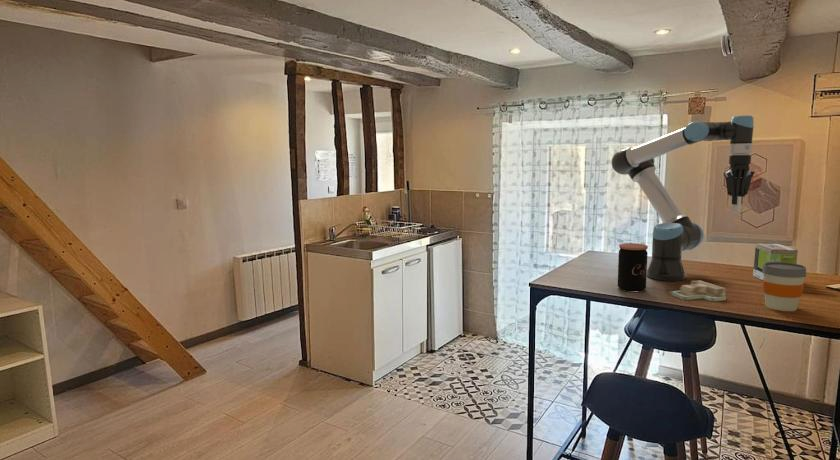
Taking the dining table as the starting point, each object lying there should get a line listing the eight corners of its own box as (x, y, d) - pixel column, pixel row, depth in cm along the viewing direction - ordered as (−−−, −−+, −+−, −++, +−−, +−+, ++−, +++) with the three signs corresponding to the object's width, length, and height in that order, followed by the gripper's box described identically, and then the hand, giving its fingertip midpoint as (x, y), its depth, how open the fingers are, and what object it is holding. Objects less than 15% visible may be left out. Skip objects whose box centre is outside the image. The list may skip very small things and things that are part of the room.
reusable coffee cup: (764, 311, 175) (768, 268, 173) (755, 301, 186) (758, 261, 184) (808, 314, 170) (812, 270, 168) (796, 303, 182) (800, 262, 180)
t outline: (692, 288, 205) (692, 285, 204) (725, 300, 188) (726, 297, 188) (661, 291, 202) (661, 288, 201) (693, 303, 185) (693, 300, 185)
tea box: (795, 285, 207) (798, 249, 204) (768, 284, 209) (770, 249, 206) (777, 276, 221) (780, 243, 219) (752, 275, 223) (754, 242, 221)
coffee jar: (633, 294, 199) (635, 248, 196) (611, 288, 208) (613, 244, 206) (651, 290, 204) (653, 246, 201) (629, 284, 213) (631, 242, 210)
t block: (699, 289, 203) (699, 280, 202) (725, 298, 190) (725, 288, 190) (672, 292, 200) (673, 282, 200) (697, 301, 188) (698, 290, 187)
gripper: (734, 154, 201) (730, 214, 205) (761, 154, 204) (757, 212, 207) (719, 154, 208) (715, 212, 212) (746, 154, 211) (741, 210, 215)
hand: (736, 212), depth 210 cm, fingers closed
